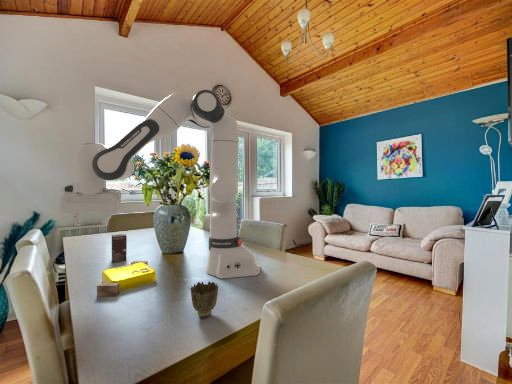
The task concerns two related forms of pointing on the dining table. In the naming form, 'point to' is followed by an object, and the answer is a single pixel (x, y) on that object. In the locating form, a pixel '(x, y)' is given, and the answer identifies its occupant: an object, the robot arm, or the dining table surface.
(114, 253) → the box
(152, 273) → the element tile
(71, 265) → the dining table surface
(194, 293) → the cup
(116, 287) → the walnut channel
